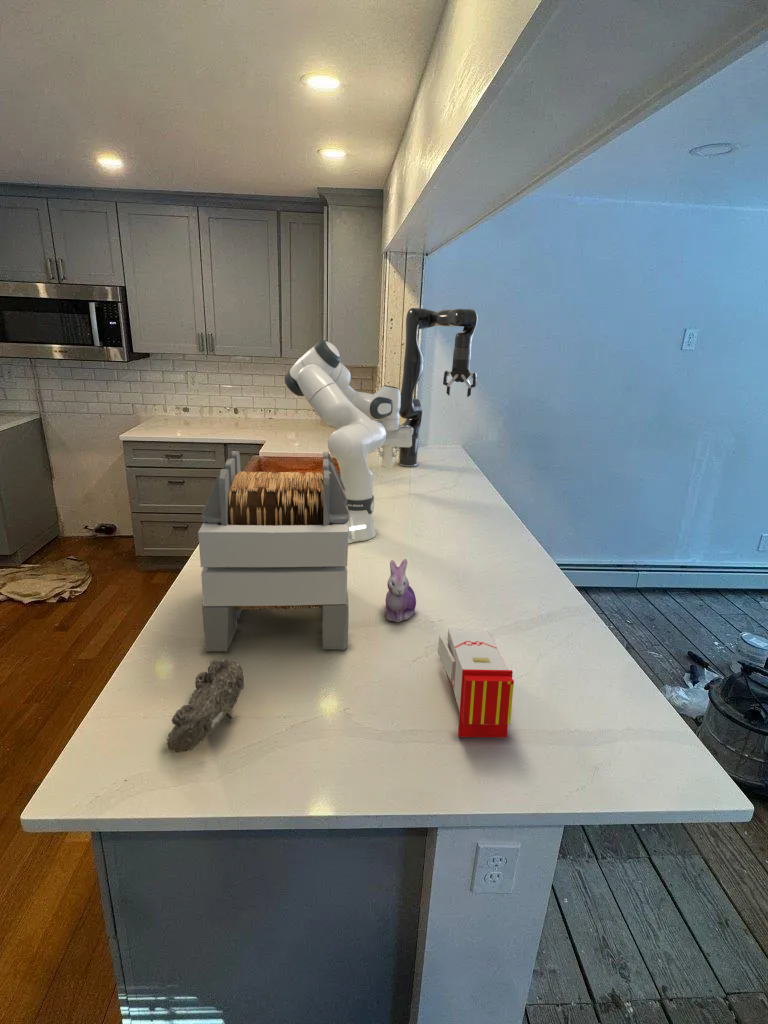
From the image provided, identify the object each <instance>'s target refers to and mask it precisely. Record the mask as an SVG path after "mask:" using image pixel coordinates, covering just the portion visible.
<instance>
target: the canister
mask: <svg viewBox="0 0 768 1024" xmlns="http://www.w3.org/2000/svg"><path fill="white" fill-rule="evenodd" d="M382 452H383V454H382V455H383V457H381V467H382V468H385V469H386V468H387V469H389V468H393V465H394V464H393V463H394V457H393V452H394V447H391V445H386V446H385V447H383V446H382Z"/></svg>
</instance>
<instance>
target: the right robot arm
mask: <svg viewBox="0 0 768 1024" xmlns="http://www.w3.org/2000/svg"><path fill="white" fill-rule="evenodd" d="M405 317H406V318H405V350H404V358H403V360H404V361H403V369H402V371H403V373H402V382H401V388H400V389H401V390H400V394H401V407H400V411H399V415H400V418H401V419H405V421H404V422H403V423H402V424H401V425H410V426H411V427H412V428H413V435H412V446H411V447H399V451H398V453H399V454H398V459H397V461H398V463H397V464H398V465H399V466H401V467H407V468H410V467H413V468H414V467H417V466H418V451H419V437H420V435H419V434H420V428H421V426H422V420H423V419H422V418H423V404H422V402H421V400H420V399H418V398H414V392H415V389H416V387H417V385H418V383H419V381H420V379H421V377H422V375H423V370H424V360H425V359H424V355H423V351H422V350H421V347H420V345H419V341H418V330H426V329H430V328H432V327H444V328H445V327H446V328H447V327H448V328H450V327H463V328H462V330H461V331H460V332H457V333H456V334H455V338H454V347H453V348H454V349H453V353H452V366H451V371H449V370H445V371H444V372H443V381H442V384H443V386H446V395H447V396H450V395H451V389H452V388H451V387H452V386H451V385H452V384H453V383H454V382H455V383H465V384H466V387H468V388H467V393H466V397H467V398H469V397H470V396H472V389H473V388H476V387H477V372H471V371H470V369H471V358H472V341H473V337H474V334H475V330H476V328H477V324H478V317H479V316H478V314H477V311H476V310H474V309H471V308H454V309H442V310H438V311H436V310H432V309H427V308H423V307H410V308H409V309H408V311H407V313H406V316H405ZM449 376H451V379H450V381H448V377H449ZM470 377H471V379H472V384H471V382H470V380H469V378H470ZM411 427H410V428H411Z"/></svg>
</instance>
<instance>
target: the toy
mask: <svg viewBox="0 0 768 1024" xmlns="http://www.w3.org/2000/svg"><path fill="white" fill-rule="evenodd" d="M446 640H447V643H446V641H445V639H444V636H443V635H442V634H439V637H438V646H437V656H438V657H439V659H440V661H441V663H442V666H443V668H444V670H445V672H446V674H447V677H448V679H449V681H450V684H451V687H452V690H453V693H454V697H455V701H456V705H457V708H458V711H459V714H458V715H459V716H458V730H457V731H458V732H457V737H458V738H508V731H509V726H510V725H511V717H512V707H513V697H514V696H513V695H514V684H515V680H514V679H513V673H514V671H513V670H512V669H508V667H507V665H506V662H505V661H504V659H503V658H502V655H501V653H500V651H499V649H498V647H497V643H496V639H495V637H494V635H493V634H491V632H490V631H489V629H467V628H466V629H465V628H463V629H461V628H460V629H459V628H448V630H447V639H446Z"/></svg>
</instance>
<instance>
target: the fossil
mask: <svg viewBox="0 0 768 1024" xmlns="http://www.w3.org/2000/svg"><path fill="white" fill-rule="evenodd" d="M243 670H244V669H243V667H242V665H240V664H237V662H236V661H235V660H234V659H232V658H231V659H227V658H226V659H224V660H223V661H222V660H217V659H212V660H211V661H210V663H209V665H208V666H207V671H201V672H199V673H198V674H197V675H196V676H195V680H194V684H195V685H194V687H195V689H194V690H193V693H192V694H191V697H190V698H189V700H188V704H184V705H182V706H181V707H180V709H177V710H176V711H175V713H174V715H173V716H172V718H171V723H172V724H173V727H172V730H171V731H170V732H168V734H167V738H166V741H167V742H166V745H167V749H168V750H169V751H173V752H174V753H176V754H178V753H182V752H188V751H189V752H192V751H193V750H195V748H196V747H197V746H199V744H200V743H201V742H203V741H204V740H205V739H206V738H207V737H208V736H209V735H210V734H211V733H212V732H214V730H215V729H217V727H218V726H219V724H220V722H221V721H222V720H223V719H224V718H225V716H226V717H227V719H229V720H233V717H232V715H230V714H229V710H230V709H231V708H234V706H235V704H236V703H237V702H238V699H239V697H240V695H241V693H242V691H243V690H245V689H244V688H245V675H244V671H243Z"/></svg>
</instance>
